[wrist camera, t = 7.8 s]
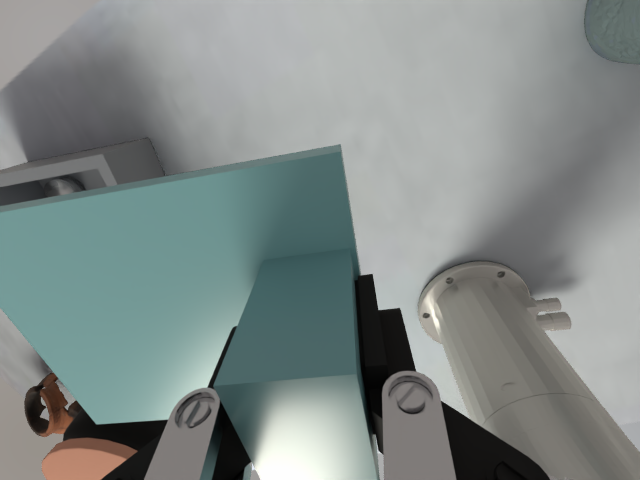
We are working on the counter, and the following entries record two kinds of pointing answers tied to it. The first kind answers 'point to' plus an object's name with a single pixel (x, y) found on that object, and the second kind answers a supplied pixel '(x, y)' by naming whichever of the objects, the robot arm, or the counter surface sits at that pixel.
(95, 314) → the teal platform with post
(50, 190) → the glossy grey dome
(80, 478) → the coffee jar
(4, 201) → the tub
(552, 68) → the counter surface
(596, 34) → the green tapered cup
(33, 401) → the brown looped piece
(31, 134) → the counter surface
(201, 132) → the counter surface
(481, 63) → the counter surface
